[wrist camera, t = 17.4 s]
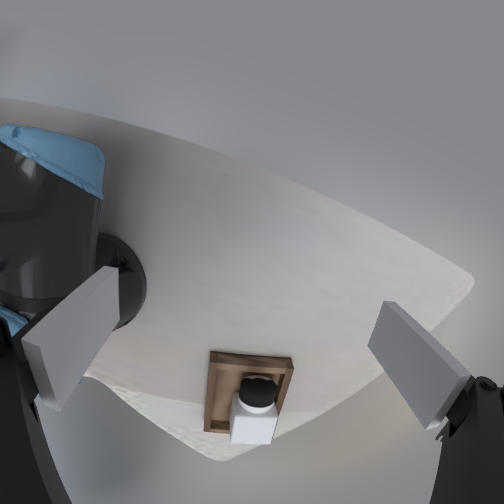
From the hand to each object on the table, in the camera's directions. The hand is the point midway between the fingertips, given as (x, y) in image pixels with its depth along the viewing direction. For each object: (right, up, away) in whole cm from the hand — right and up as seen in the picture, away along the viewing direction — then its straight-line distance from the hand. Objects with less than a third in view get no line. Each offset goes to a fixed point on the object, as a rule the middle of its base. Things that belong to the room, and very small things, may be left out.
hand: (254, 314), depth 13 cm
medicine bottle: (-1, -30, +31) cm, 43 cm away
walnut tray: (-2, -23, +34) cm, 41 cm away
